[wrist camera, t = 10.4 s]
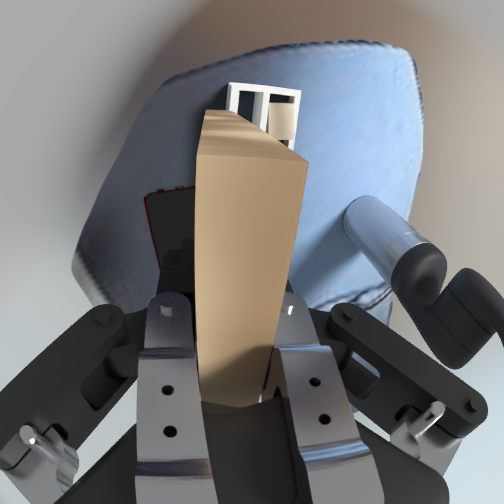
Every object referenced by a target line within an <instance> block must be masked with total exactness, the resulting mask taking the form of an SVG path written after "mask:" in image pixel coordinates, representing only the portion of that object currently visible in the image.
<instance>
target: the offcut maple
mask: <svg viewBox="0 0 504 504" xmlns="http://www.w3.org/2000/svg"><path fill="white" fill-rule="evenodd" d="M266 133H268V134H269V135H271V136H272V137H274V138H275V139H277V140H294V104H291V103H269V107H268V116H267V124H266Z"/></svg>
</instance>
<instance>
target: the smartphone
mask: <svg viewBox="0 0 504 504" xmlns="http://www.w3.org/2000/svg"><path fill="white" fill-rule="evenodd" d="M158 191H163V192H158ZM195 191H196V186H195V187H188V188H184V186H182V187H176V189H173V190H167V191H164V189H158V190H157V192H153V193H149V194H148V195H146V197H147V198H146V197H144V200H145V205H146V210H147V214H148V219H149V223H150V227H151V232H152V236H153V240H154V244H155V248H156V252H157V256H158V260H159V264H160V268H161V266H162V261H163V257H164V255H165V254H166V253H167V252H168V251H169V250H181V248H182V240H183V238H195Z"/></svg>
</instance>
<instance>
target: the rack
mask: <svg viewBox="0 0 504 504" xmlns="http://www.w3.org/2000/svg"><path fill="white" fill-rule="evenodd" d="M239 90H240V91H251V92H255V96H254V106H253V115H252V124H254V125H255V126H257V127H258V128H260V129H262V130H263V131H265V132H266V124H267V116H268V107H269V99H270V94H278V95H285V96H289V102H288V103H291V104H294V140H284V141H283V144H284V145H285V146H287V147H288V148H290V149H291V150H292V151H293V148H294V141H295V133H296V126H297V119H298V112H299V104H300V96H301V91H299V90H293V89H287V88H280V87H272V86H264V85H255V84H244V83H231V82H230V83H228V91H227V101H226V111H233V112H235V113H236V114H237V110H238V100H239Z"/></svg>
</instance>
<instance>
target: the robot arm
mask: <svg viewBox="0 0 504 504" xmlns="http://www.w3.org/2000/svg"><path fill="white" fill-rule="evenodd" d="M343 227H344V230H345V232H346V234H347V235H348V236H349V237H350V238H351V240H352V241H353V242H354V243H355V244H356V246H357V247H358V248H359V249H360V250H361V252H362V253H363V254H364V255H365V256H366V258H367V259H368V260H369V261H370V263H371V264H372V265H373V266H374V267H375V269H376V270H377V271H378V272H379V274H380V275H381V276H382V278H383V279H384V280H385V281H386V282H387V284H388V285H389V286H390V288H391V289H392V290H393V292H394V293H395V294H396V295H397V297H398V299H399V301H400V303H401V304H402V305H403V307H404V308H405V310H406V311H407V313H408V314H409V315H410V317H411V319H412V320H413V322H414V323H415V325H416V327H417V329H418V330H419V332H420V334H421V335H422V337H423V338H424V340H425V342H426V343H427V345H428V346H429V348H430V349H431V351H432V352H433V354H434V355H435V356H436V357H437V359H439V360H440V362H441V363H443V364H444V365H445V366H447V367H448V368H450V369H459V368H462V367H463V366H464V365H465V364H466V363H468V362H469V361H470V360H471V359H472V358H473V357H474V355H475V354H476V353H477V352H478V351H479V350H480V349H481V348H482V347H483V346H484V345H485V344H486V343H487V341H488V340H489V339H490V338H491V337H492V335H494V333H495V332H497V333H498V335H499V337H500V339H501V341H502V344H503V347H504V299H503V297H502V296H501V295H500V294H499V293H498V291H497V290H496V289H495V288H494V287H493V286H492V285H491V284H490V283H489V282H488V281H487V280H486V279H485V278H484V277H483V276H482V275H480V274H479V273H478V272H476V271H474V270H473V269H469V268H464V269H461V270H460V271H459V272H458V273H457V274H456V275H455V276H454V278H453V279H452V280H451V281H450V282H449V284H448V286H446V287H445V289H444V290H443V291H442V292H441V294H440V291H441V288H442V285H443V282H444V280H445V277H446V272H447V261H446V258H445V256H444V254H443V253H442V252H441V251H440V250H439V249H438V248H437V247H436V246H435V245H433V244H432V243H431V242H430V241H429V240H428V239H427V238H425V237H424V236H423V235H422V234H421V233H420V232H418V231H417V230H416V229H415V228H414V227H413V226H412V225H410V224H409V223H408V222H407V221H406V220H404V219H403V218H402V217H401V216H400V215H398V214H397V213H396V212H395V211H393V210H392V209H391V208H389V207H388V206H387V205H385V204H384V203H383V202H381V201H380V200H379V199H377V198H376V197H373V196H363V197H360V198H358V199H356V200H355V201H354V202H352V203H351V204H350V206H349V207H348V208H347V210H346V212H345V215H344V218H343ZM195 341H197V329H196V300H195V238H183V240H182V248H181V250H169V251H168V252H167V253H166V254H165V255H164V257H163V261H162V266H161V272H160V276H159V281H158V287H157V292H156V296H154V297H153V298H152V299H151V300H150V301H149V303H148V307H147V308H145V309H144V310H141V311H138V312H134V313H129V314H124V313H123V311H122V310H121V309H120V308H119V307H117V306H115V305H112V304H103V305H98V306H96V307H94V308H92V309H91V310H89V311H88V312H87V313H86V314H85V315H83V316H82V317H81V318H80V319H79V320H78V321H76V322H75V323H74V324H73V325H72V326H71V327H70V328H68V329H67V330H66V331H65V332H64V333H63V334H61V335H60V336H59V337H58V338H57V339H56V340H55V341H53V342H52V343H51V344H50V345H49V346H48V347H47V348H46V349H45V350H44V351H43V352H41V353H40V354H39V355H38V356H37V357H36V358H35V359H34V360H33V361H32V362H31V363H29V364H28V365H27V366H26V367H25V368H24V369H23V370H22V371H21V372H20V373H19V374H18V375H17V376H16V377H15V378H14V379H13V380H12V381H11V382H10V383H9V384H8V385H7V386H6V387H5V388H4V389H3V390H2V391H1V392H0V470H1V471H3V472H4V473H5V474H6V475H7V477H8V478H9V479H10V480H11V481H12V483H13V484H14V485H15V486H16V488H17V489H18V490H19V491H20V492H21V493H22V494H23V496H25V498H26V499H27V500H28V501H29V502H30V503H31V504H449V490H448V486H447V483H446V482H445V480H444V478H443V475H444V473H445V472H446V470H447V468H448V466H449V465H450V463H451V461H452V459H453V457H454V455H455V453H456V451H457V449H458V447H459V446H460V443H461V441H462V439H463V438H464V437H465V436H467V435H468V434H469V433H471V432H472V431H473V430H474V429H475V428H477V427H478V426H479V425H480V424H481V423H483V422H484V420H485V419H486V418H487V414H488V407H487V403H486V401H485V399H484V397H483V396H482V395H481V394H480V393H479V392H477V391H476V390H475V389H473V388H472V387H470V386H469V385H468V384H466V383H465V382H464V381H462V380H461V379H460V378H458V377H457V376H455V375H454V374H453V373H451V372H450V371H449V370H447V369H446V368H444V367H443V366H442V365H440V364H439V363H438V362H436V361H435V360H433V359H432V358H431V357H429V356H428V355H426V354H425V353H424V352H422V351H421V350H420V349H418V348H417V347H415V346H414V345H413V344H411V343H410V342H408V341H407V340H406V339H404V338H402V337H401V336H400V335H399V334H397V333H396V332H394V331H393V330H391V329H390V328H389V327H387V326H386V325H384V324H383V323H382V322H380V321H379V320H377V319H376V318H375V317H373V316H372V315H370V314H369V313H367V312H366V311H365V310H363V309H362V308H360V307H359V306H357V305H354V304H351V303H338V304H336V305H334V306H333V307H332V309H331V312H325V311H319V310H314V309H311V308H308V307H307V304H306V302H305V301H304V299H303V298H301V297H300V296H298V295H297V294H294V293H293V290H292V288H291V285H290V283H289V280H288V278H287V283H286V288H285V293H284V297H283V302H282V307H281V311H280V316H279V320H278V325H277V329H276V334H275V338H274V342H273V347H272V351H271V355H270V359H269V363H268V368H267V372H266V376H265V380H264V384H263V388H262V392H261V402H259V403H256V404H253V405H250V406H246V407H233V406H227V405H221V404H216V403H211V402H206V401H200V393H199V385H198V376H197V368H196V358H195ZM354 352H355V353H357V354H358V355H359V356H360V357H362V358H363V359H364V360H366V361H367V362H368V363H370V364H371V365H372V366H373V367H375V368H376V369H377V370H378V372H379V373H380V378H379V377H377V376H376V375H374V374H373V373H372V372H370V371H369V370H368V369H367V368H365V367H364V366H363V365H361V364H360V363H359V362H358V361H356V360H355V359H354V358H353V357H352V355H353V353H354ZM137 378H138V381H137V423H136V424H134V425H133V426H132V427H131V428H130V429H129V430H128V431H127V432H126V433H125V434H124V435H123V436H122V437H121V438H120V439H119V440H118V441H117V442H116V443H115V444H114V445H113V446H112V447H111V448H110V449H109V450H108V451H107V452H106V453H105V454H104V455H103V456H102V457H101V458H100V459H99V460H98V461H97V462H96V463H95V464H94V465H93V466H92V467H91V468H90V469H89V470H88V471H87V472H86V473H85V474H84V475H83V476H82V477H81V478H80V479H79V480H78V481H77V482H76V483H75V484H74V485H73V478H74V475H75V474H76V473H77V470H78V467H79V458H78V455H77V452H76V451H77V449H78V448H79V447H80V446H81V445H82V443H83V442H84V441H85V440H86V438H87V437H88V436H89V435H90V434H91V433H92V432H93V430H94V429H95V428H96V427H97V426H98V424H99V423H100V422H101V421H102V420H103V419H104V417H105V416H106V415H107V414H108V413H109V411H110V410H111V409H112V408H113V407H114V405H115V404H116V403H117V402H118V401H119V400H120V398H121V397H122V396H123V395H124V394H125V392H126V391H127V390H128V389H129V388H130V386H131V385H132V384H133V383H134V382H135V380H137ZM349 402H350V403H351V404H352V405H353V406H354V407H356V408H357V409H358V410H359V411H360V412H362V413H363V414H364V415H365V416H367V417H368V418H369V419H370V420H372V421H373V422H374V423H375V424H377V425H378V426H379V427H380V428H382V429H383V430H384V431H385V432H387V433H388V434H389V435H390V440H391V441H390V442H388V441H387V440H385V439H384V438H382V437H381V436H379V435H378V434H376V433H374V432H373V431H371V430H370V429H368V428H367V427H366V426H364V425H362V424H361V423H360V422H358V421H357V420H355V419H354V415H353V412H352V409H351V406H350V403H349Z"/></svg>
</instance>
